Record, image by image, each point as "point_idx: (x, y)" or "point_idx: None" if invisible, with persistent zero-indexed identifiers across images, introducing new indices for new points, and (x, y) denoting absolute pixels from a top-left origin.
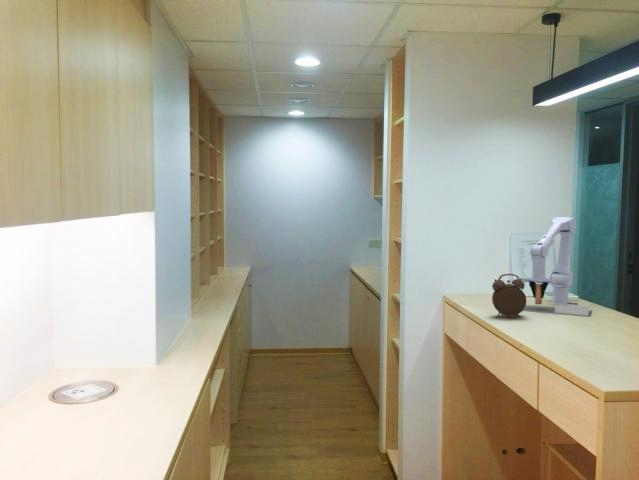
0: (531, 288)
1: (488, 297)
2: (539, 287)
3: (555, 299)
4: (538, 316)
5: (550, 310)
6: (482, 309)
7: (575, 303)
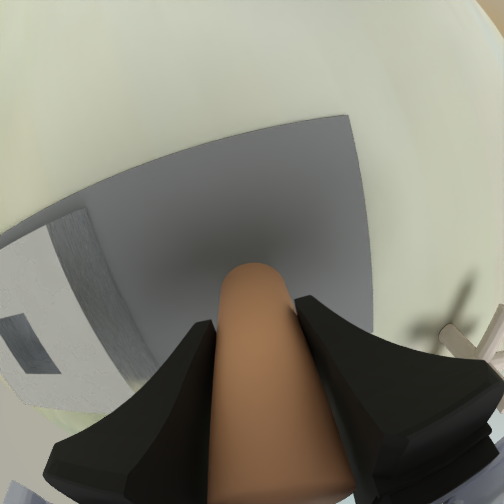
0: (399, 349)
1: (500, 349)
2: (233, 437)
3: None
4: (151, 40)
5: (151, 279)
6: (498, 79)
7: (35, 371)
